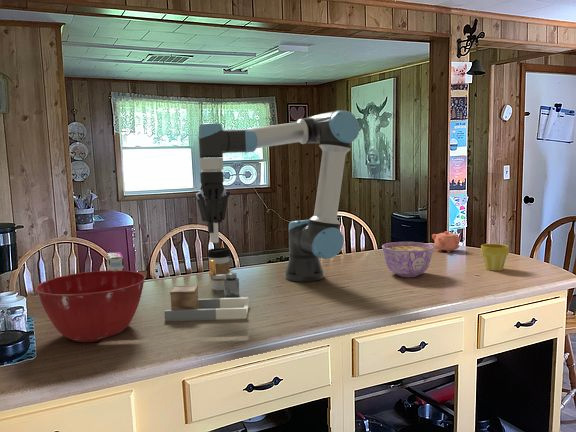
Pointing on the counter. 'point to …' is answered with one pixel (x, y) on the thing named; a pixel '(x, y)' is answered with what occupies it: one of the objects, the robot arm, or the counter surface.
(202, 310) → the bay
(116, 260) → the candy bar box
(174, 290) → the crate
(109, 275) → the mixing bowl
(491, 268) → the plant pot
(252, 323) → the counter surface
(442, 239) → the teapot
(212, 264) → the crank
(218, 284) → the coffee cup
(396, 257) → the bowl of food
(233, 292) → the winch
